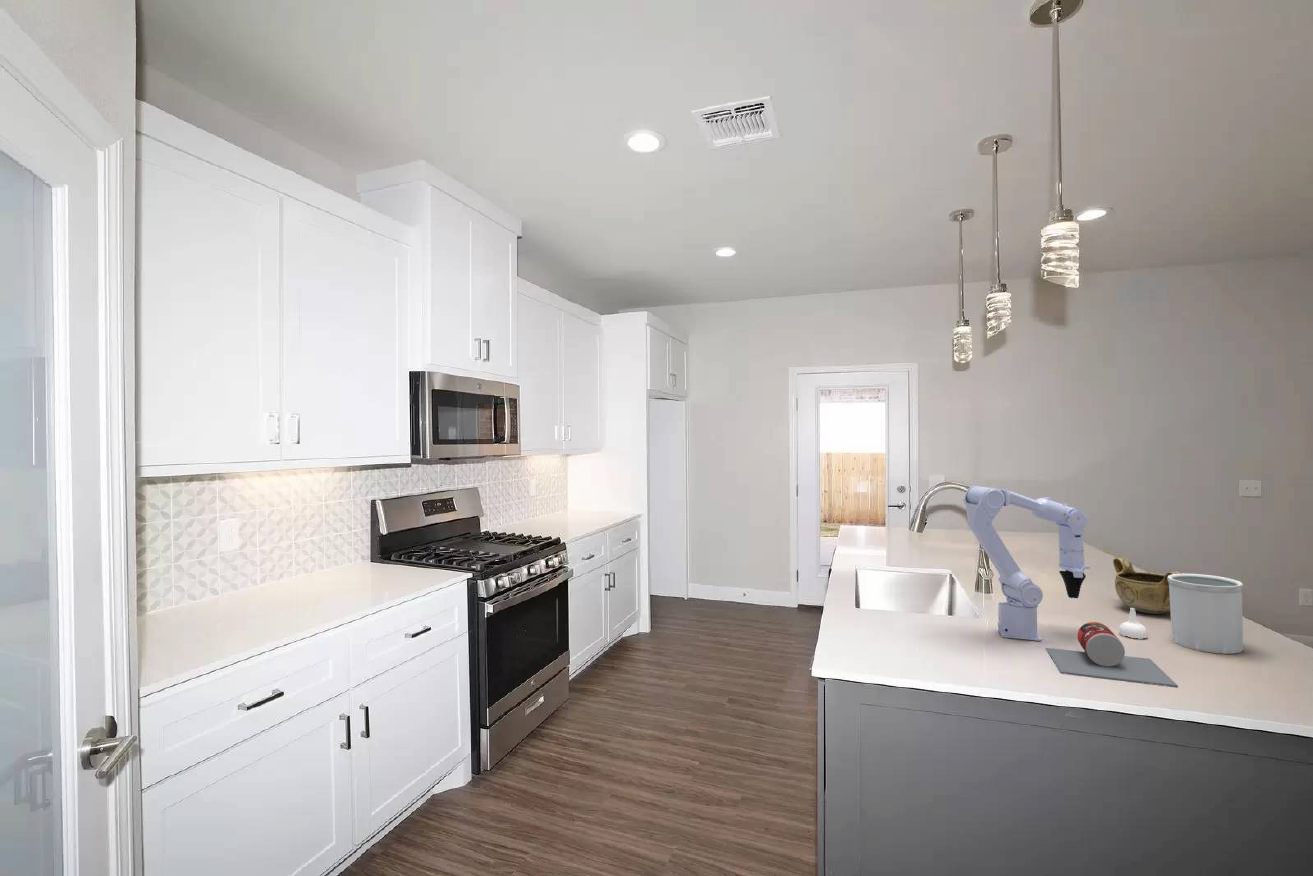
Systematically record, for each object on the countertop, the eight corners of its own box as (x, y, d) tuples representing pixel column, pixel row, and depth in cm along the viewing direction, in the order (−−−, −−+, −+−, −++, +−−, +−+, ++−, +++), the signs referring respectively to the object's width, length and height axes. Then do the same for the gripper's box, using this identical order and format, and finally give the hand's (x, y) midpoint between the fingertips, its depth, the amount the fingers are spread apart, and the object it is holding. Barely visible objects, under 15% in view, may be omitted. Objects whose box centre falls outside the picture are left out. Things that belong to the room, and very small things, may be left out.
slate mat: (1060, 673, 141) (1060, 671, 141) (1046, 649, 157) (1046, 647, 157) (1177, 687, 133) (1177, 685, 133) (1150, 660, 148) (1150, 658, 148)
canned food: (1113, 623, 152) (1125, 636, 142) (1112, 654, 152) (1124, 670, 142) (1077, 618, 155) (1087, 631, 145) (1076, 649, 155) (1086, 664, 145)
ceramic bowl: (1094, 602, 198) (1094, 557, 198) (1142, 600, 199) (1142, 556, 199) (1155, 623, 176) (1154, 573, 176) (1209, 621, 177) (1208, 571, 177)
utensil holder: (1167, 646, 158) (1166, 580, 158) (1169, 632, 168) (1168, 570, 168) (1245, 659, 148) (1244, 589, 147) (1242, 643, 158) (1241, 578, 158)
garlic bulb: (1152, 642, 162) (1155, 613, 162) (1126, 639, 163) (1129, 610, 163) (1138, 635, 168) (1141, 607, 168) (1113, 631, 170) (1116, 604, 169)
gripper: (1095, 555, 160) (1097, 605, 160) (1081, 545, 173) (1083, 591, 173) (1064, 554, 163) (1066, 603, 163) (1053, 544, 176) (1054, 590, 176)
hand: (1073, 597), depth 168 cm, fingers closed
